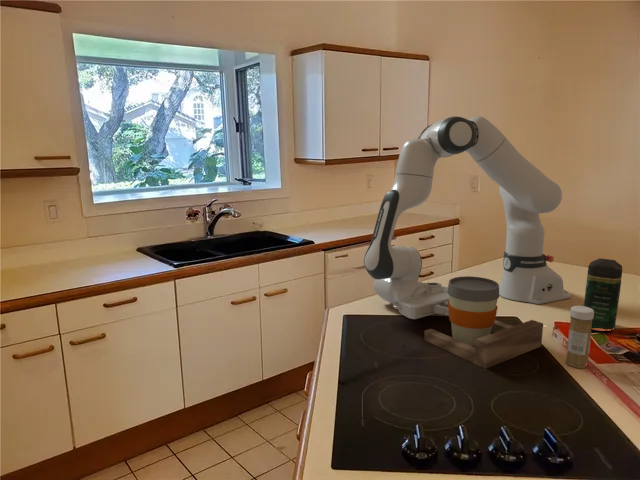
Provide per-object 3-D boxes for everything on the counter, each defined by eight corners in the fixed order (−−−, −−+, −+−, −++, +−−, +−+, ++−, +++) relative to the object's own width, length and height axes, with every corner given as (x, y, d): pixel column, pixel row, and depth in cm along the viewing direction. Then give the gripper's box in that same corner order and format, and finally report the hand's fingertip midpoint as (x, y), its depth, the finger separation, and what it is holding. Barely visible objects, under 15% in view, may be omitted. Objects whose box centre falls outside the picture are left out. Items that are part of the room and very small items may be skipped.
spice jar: (591, 365, 107) (598, 309, 104) (581, 371, 104) (587, 313, 102) (572, 358, 111) (577, 303, 108) (561, 363, 108) (566, 307, 105)
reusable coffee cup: (506, 341, 120) (511, 284, 117) (473, 353, 113) (477, 294, 110) (467, 325, 130) (470, 273, 127) (435, 336, 124) (437, 281, 121)
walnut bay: (424, 339, 122) (425, 317, 120) (478, 322, 133) (479, 302, 131) (485, 368, 106) (486, 343, 105) (541, 346, 117) (543, 323, 116)
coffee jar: (614, 336, 122) (622, 266, 119) (579, 329, 127) (586, 262, 123) (616, 324, 130) (624, 258, 126) (583, 318, 135) (590, 255, 131)
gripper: (389, 293, 131) (425, 308, 120) (441, 281, 142) (479, 293, 130) (389, 315, 132) (424, 331, 121) (440, 301, 143) (478, 315, 132)
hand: (453, 311), depth 126 cm, fingers closed, pressing on reusable coffee cup
